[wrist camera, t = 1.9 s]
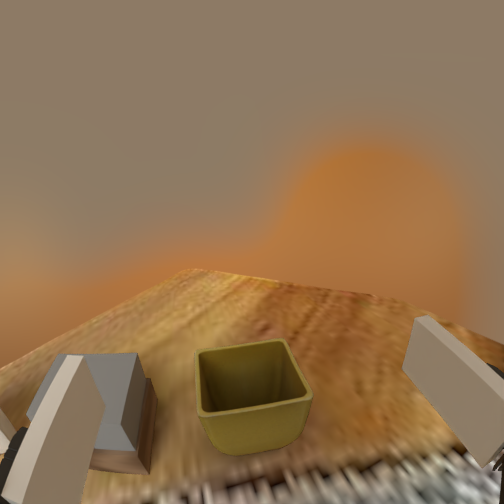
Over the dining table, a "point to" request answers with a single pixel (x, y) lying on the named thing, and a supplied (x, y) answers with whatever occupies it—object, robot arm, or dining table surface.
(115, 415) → the grey top slab
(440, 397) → the robot arm
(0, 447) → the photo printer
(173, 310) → the dining table surface
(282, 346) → the flower pot
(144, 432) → the walnut base slab
